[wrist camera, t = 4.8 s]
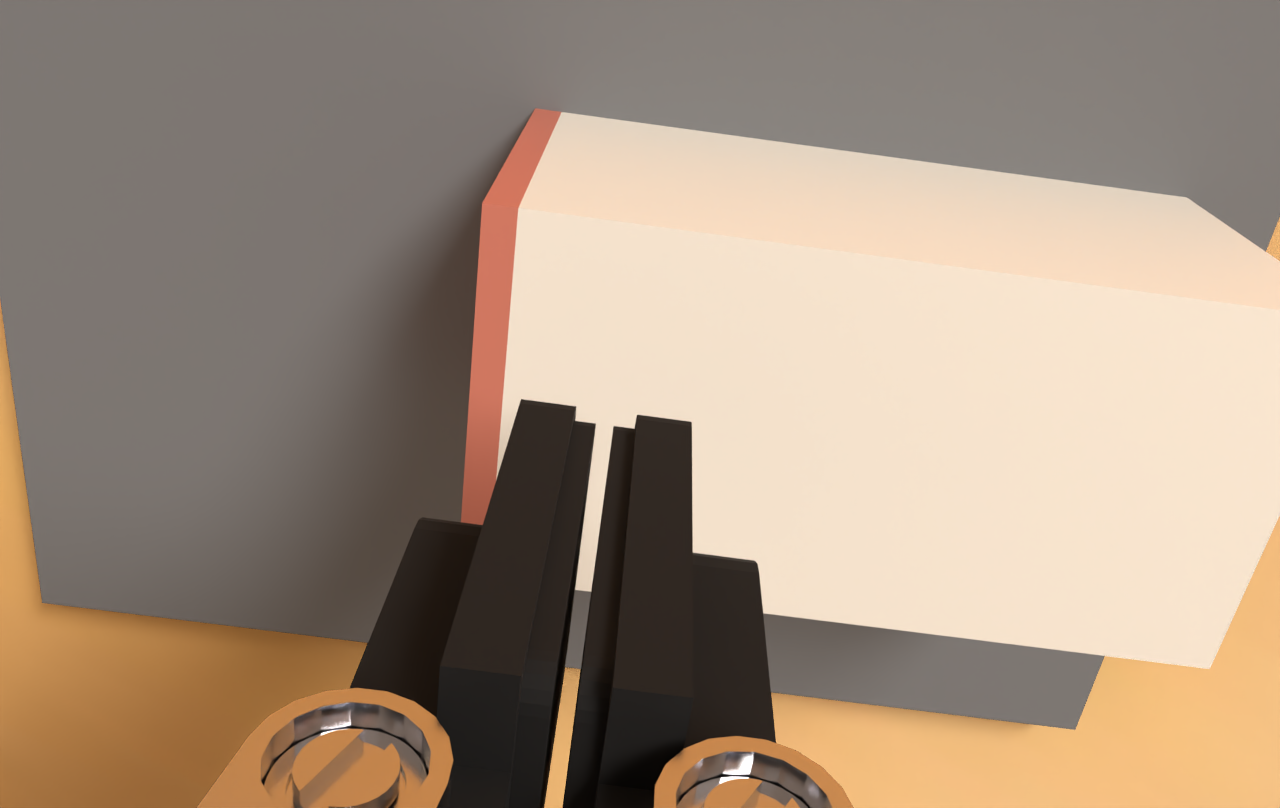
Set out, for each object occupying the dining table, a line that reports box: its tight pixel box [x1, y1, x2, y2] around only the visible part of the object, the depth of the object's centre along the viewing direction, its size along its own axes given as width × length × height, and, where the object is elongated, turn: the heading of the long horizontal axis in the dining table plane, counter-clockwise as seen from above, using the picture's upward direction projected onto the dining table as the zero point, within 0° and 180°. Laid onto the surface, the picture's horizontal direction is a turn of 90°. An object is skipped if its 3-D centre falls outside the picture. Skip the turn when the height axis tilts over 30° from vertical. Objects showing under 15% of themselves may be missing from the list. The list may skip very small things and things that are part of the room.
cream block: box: [461, 108, 1280, 669], centre depth 16 cm, size 5×5×10 cm
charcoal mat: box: [0, 0, 1280, 730], centre depth 18 cm, size 20×16×1 cm
